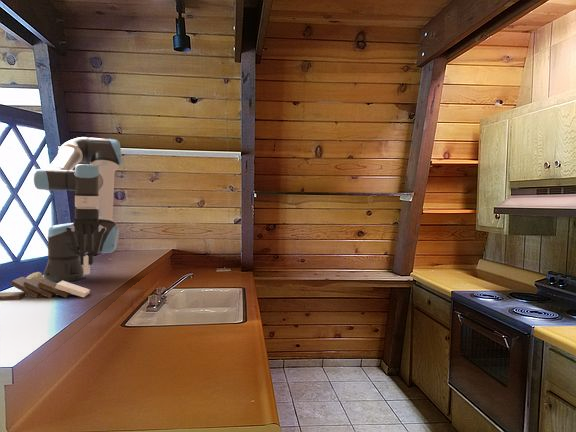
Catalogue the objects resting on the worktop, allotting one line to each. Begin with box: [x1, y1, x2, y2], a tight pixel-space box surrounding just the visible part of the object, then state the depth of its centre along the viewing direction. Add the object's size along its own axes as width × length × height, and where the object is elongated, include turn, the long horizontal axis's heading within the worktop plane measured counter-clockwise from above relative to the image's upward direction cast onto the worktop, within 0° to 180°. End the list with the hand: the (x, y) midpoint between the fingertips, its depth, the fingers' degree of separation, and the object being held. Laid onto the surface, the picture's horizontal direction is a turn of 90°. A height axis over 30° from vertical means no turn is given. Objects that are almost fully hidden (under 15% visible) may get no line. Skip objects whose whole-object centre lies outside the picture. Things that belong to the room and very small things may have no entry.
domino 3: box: [23, 278, 57, 299], centre depth 135 cm, size 2×5×10 cm
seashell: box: [25, 271, 44, 281], centre depth 142 cm, size 8×8×8 cm
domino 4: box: [38, 279, 71, 299], centre depth 136 cm, size 2×5×10 cm
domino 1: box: [0, 291, 27, 301], centre depth 132 cm, size 2×5×10 cm
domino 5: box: [55, 281, 91, 298], centre depth 137 cm, size 2×5×10 cm
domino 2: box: [10, 276, 43, 299], centre depth 135 cm, size 2×5×10 cm
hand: (86, 273), depth 138 cm, fingers closed
